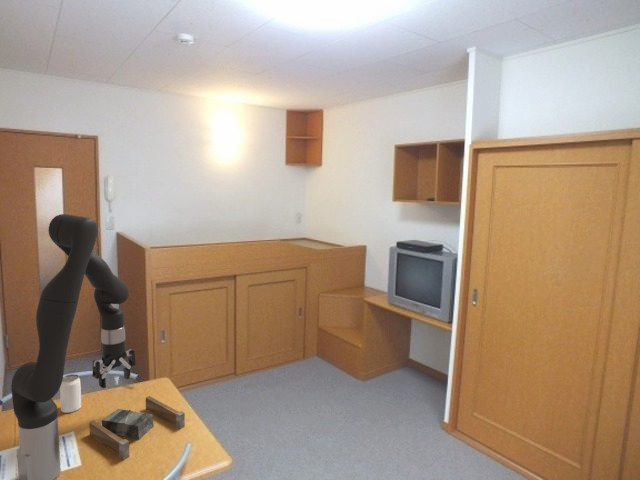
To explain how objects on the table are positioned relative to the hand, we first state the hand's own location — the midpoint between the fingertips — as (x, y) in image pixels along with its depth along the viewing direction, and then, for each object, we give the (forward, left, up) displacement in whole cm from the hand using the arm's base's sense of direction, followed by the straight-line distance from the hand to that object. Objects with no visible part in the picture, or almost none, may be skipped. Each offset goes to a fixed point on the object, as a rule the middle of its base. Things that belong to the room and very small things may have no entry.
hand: (115, 382), depth 148 cm
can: (-7, +17, -13) cm, 23 cm away
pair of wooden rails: (0, -14, -13) cm, 19 cm away
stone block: (-1, -10, -13) cm, 17 cm away
